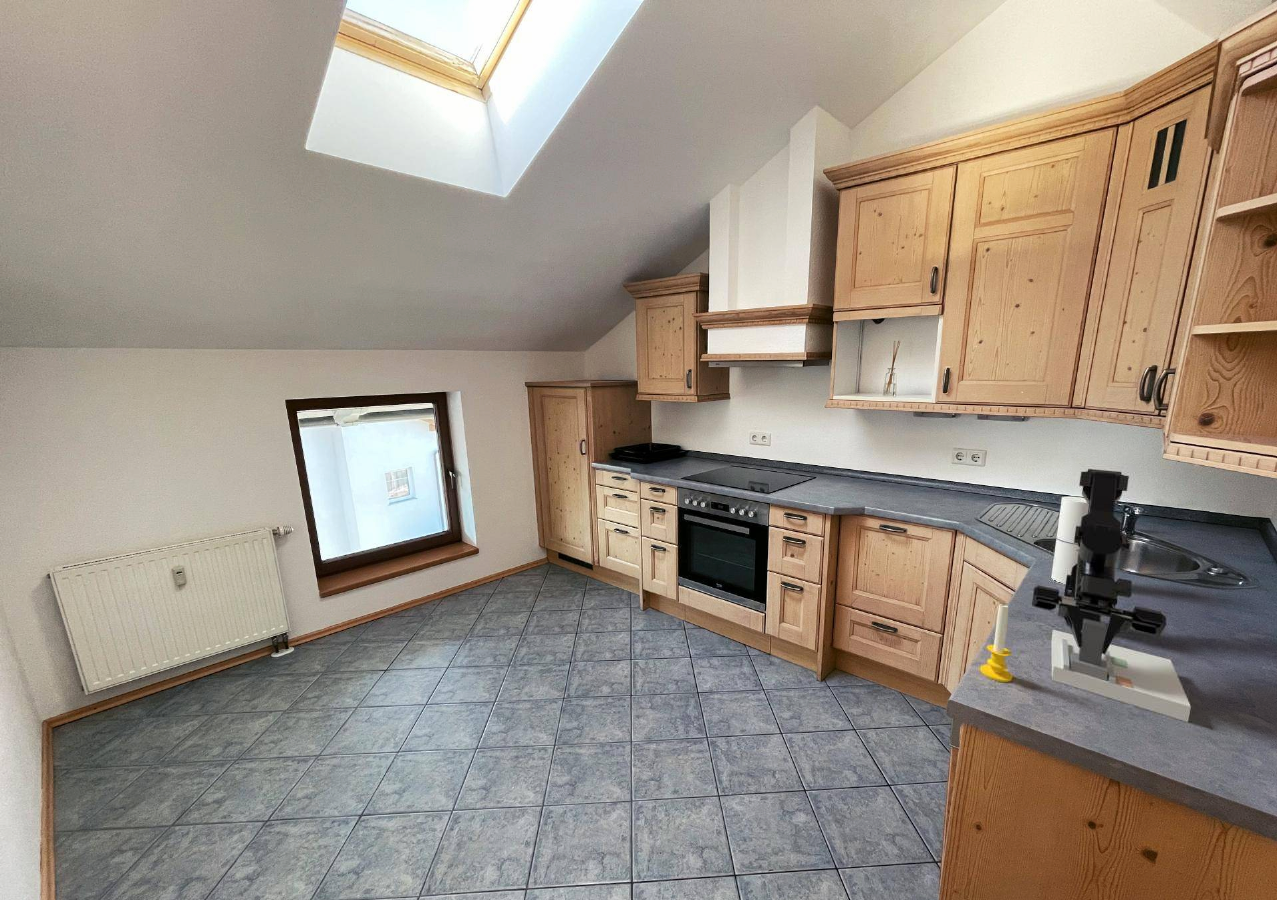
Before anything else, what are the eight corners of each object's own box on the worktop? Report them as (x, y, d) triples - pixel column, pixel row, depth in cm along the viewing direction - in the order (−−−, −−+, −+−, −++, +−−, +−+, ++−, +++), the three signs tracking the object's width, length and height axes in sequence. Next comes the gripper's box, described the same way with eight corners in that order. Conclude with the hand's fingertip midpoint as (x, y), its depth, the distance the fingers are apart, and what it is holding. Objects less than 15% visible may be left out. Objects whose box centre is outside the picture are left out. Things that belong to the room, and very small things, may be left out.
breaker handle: (1070, 660, 95) (1076, 614, 93) (1104, 670, 92) (1111, 623, 90) (1070, 670, 92) (1077, 622, 90) (1106, 680, 89) (1114, 631, 87)
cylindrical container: (1049, 574, 143) (1060, 495, 140) (1081, 579, 139) (1092, 498, 136) (1052, 582, 138) (1063, 500, 134) (1085, 588, 134) (1098, 504, 130)
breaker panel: (1051, 641, 107) (1053, 625, 107) (1168, 673, 96) (1171, 655, 95) (1051, 679, 94) (1054, 661, 93) (1187, 722, 82) (1191, 701, 81)
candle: (977, 664, 99) (984, 595, 97) (1007, 669, 97) (1015, 599, 95) (984, 678, 94) (992, 606, 92) (1016, 684, 92) (1025, 611, 90)
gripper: (1039, 548, 97) (1031, 618, 91) (1172, 571, 85) (1175, 654, 79) (1035, 572, 105) (1027, 638, 98) (1158, 597, 92) (1159, 674, 86)
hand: (1091, 650), depth 90 cm, fingers closed on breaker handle, 3 cm apart
